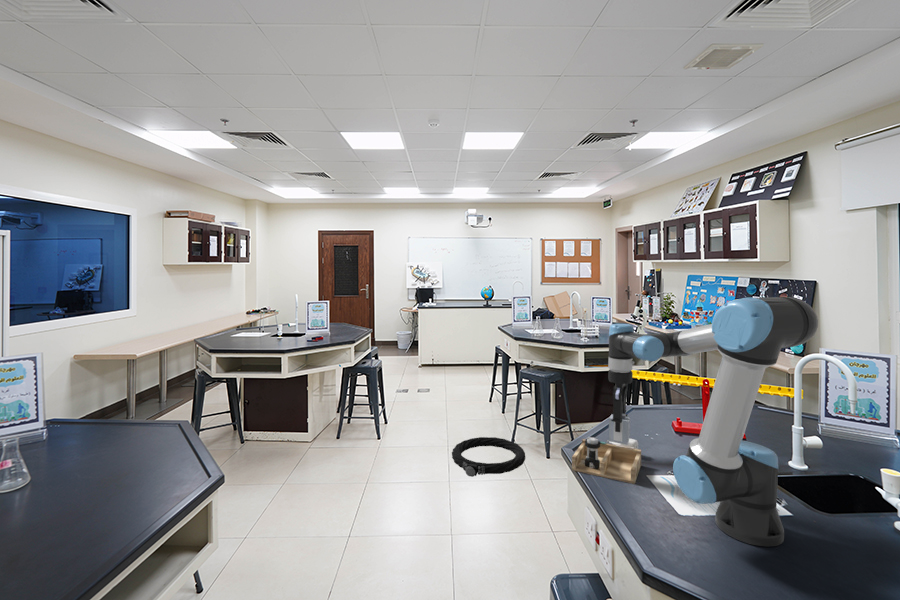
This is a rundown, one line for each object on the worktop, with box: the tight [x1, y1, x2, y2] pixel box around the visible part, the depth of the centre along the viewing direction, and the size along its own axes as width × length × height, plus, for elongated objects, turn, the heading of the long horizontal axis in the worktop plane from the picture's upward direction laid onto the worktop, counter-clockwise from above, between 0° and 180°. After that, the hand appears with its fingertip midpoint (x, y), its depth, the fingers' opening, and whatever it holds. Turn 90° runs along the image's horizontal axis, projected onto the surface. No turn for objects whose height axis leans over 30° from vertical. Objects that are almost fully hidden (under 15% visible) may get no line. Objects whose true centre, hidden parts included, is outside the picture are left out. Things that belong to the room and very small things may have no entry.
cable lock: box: [451, 436, 526, 477], centre depth 161 cm, size 28×4×30 cm
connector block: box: [607, 413, 631, 445], centre depth 146 cm, size 4×6×9 cm
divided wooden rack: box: [571, 438, 642, 485], centre depth 152 cm, size 16×20×6 cm
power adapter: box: [606, 437, 639, 449], centre depth 165 cm, size 11×5×6 cm, turn 44°
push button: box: [581, 436, 602, 470], centre depth 152 cm, size 7×5×10 cm
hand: (619, 437), depth 146 cm, fingers closed on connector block, 4 cm apart
